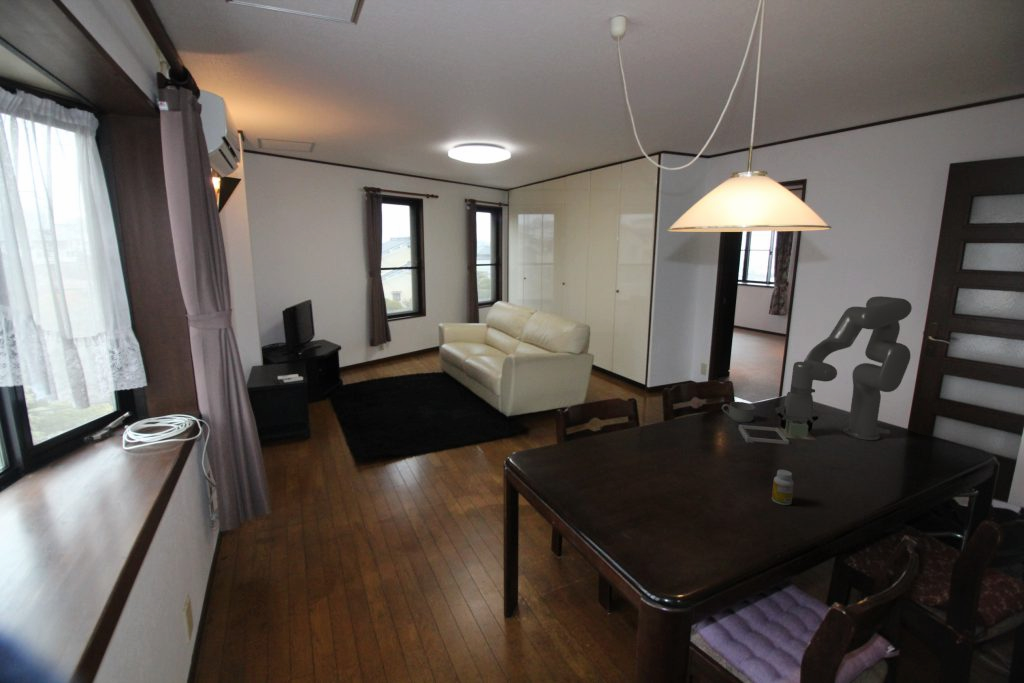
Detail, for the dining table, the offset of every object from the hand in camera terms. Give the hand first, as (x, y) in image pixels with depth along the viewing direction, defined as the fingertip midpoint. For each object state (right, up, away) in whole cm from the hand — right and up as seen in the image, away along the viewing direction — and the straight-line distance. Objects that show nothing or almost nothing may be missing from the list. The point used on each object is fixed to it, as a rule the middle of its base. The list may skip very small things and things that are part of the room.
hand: (795, 429), depth 195 cm
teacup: (-16, 0, +19) cm, 25 cm away
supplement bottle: (-38, -13, -52) cm, 66 cm away
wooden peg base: (0, -3, +1) cm, 3 cm away
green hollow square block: (0, -2, 0) cm, 2 cm away
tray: (-15, -3, -1) cm, 16 cm away
